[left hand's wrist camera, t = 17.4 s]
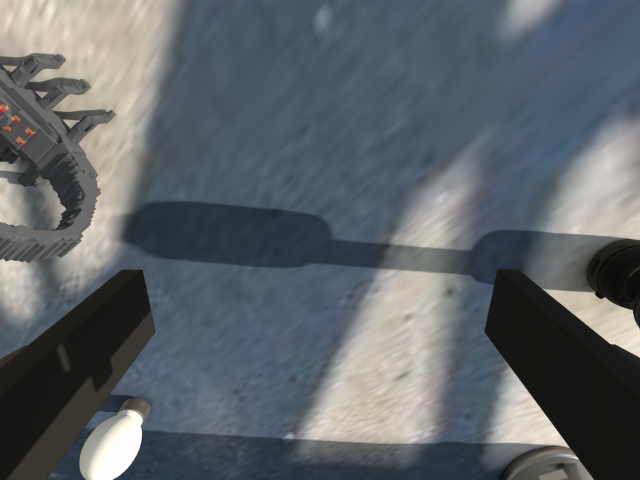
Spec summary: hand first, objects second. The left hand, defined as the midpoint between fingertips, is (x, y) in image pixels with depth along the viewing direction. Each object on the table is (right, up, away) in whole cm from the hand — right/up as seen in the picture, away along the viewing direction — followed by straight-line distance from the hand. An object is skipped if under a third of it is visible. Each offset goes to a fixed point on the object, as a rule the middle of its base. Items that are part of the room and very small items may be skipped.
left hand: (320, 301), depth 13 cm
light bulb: (-28, -24, +40) cm, 54 cm away
